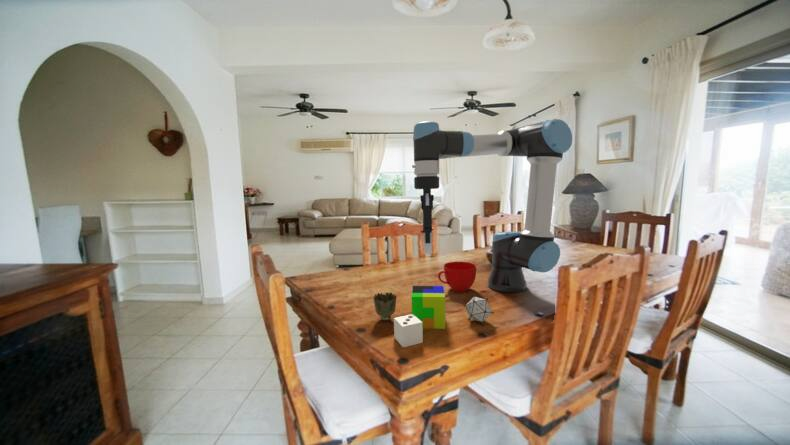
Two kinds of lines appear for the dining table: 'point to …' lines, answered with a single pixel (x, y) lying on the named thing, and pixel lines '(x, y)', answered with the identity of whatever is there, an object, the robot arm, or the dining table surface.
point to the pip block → (408, 330)
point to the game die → (478, 309)
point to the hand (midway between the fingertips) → (427, 251)
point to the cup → (385, 305)
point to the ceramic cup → (459, 275)
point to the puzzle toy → (429, 306)
